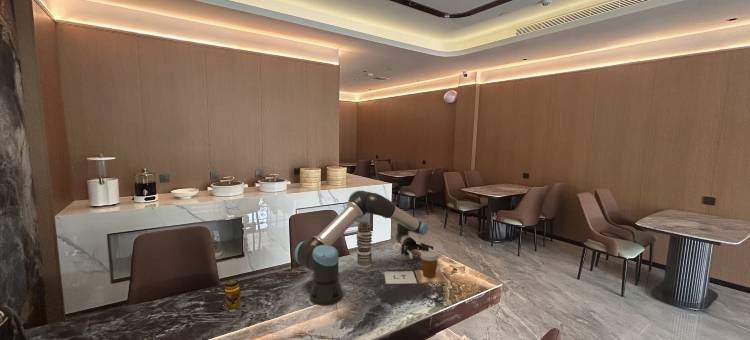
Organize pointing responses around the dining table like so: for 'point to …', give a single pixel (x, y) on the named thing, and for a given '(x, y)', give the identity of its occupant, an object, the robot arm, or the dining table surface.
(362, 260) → the decorative candle
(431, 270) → the disposable coffee cup
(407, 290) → the dining table surface
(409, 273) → the mat
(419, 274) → the oak coaster
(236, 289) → the condiment
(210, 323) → the dining table surface
